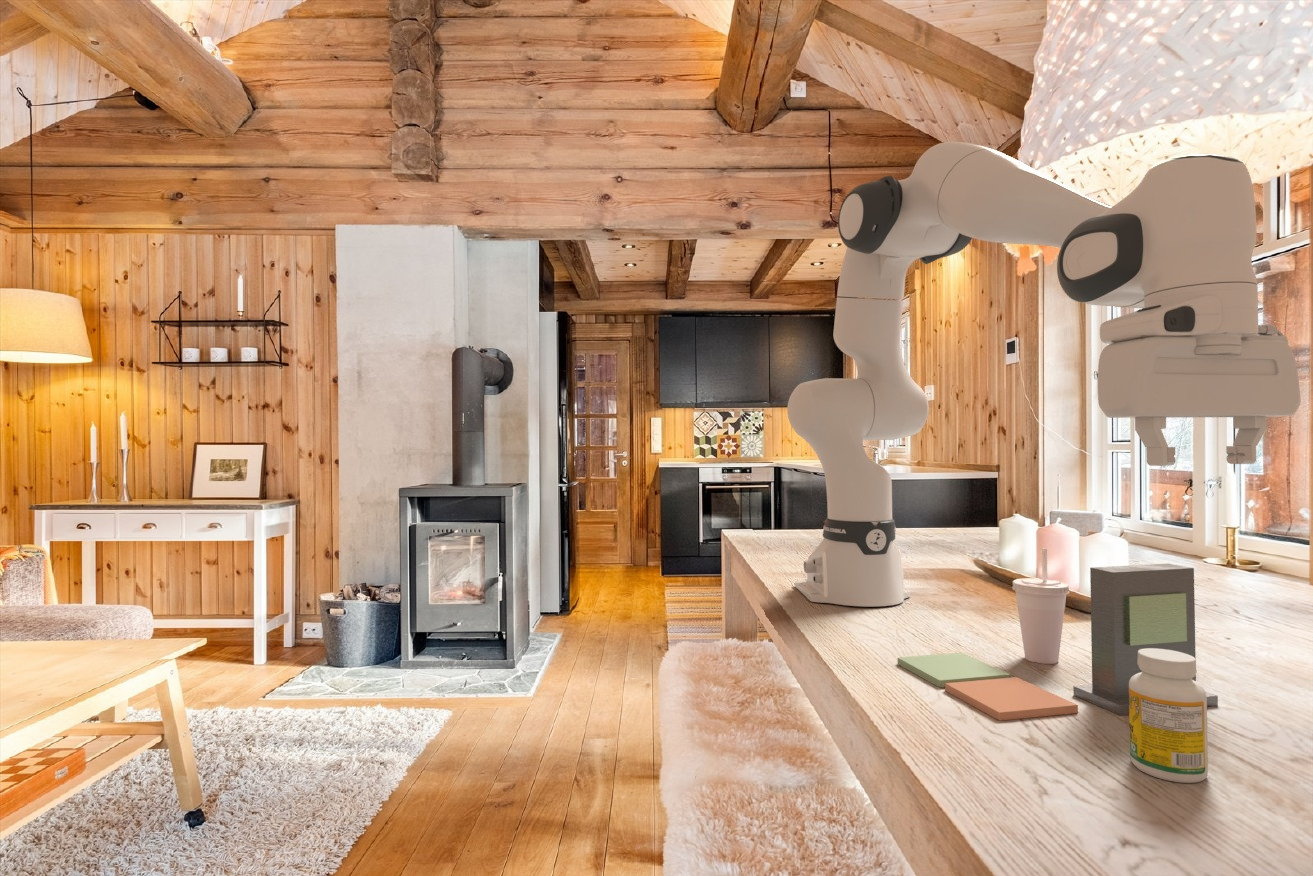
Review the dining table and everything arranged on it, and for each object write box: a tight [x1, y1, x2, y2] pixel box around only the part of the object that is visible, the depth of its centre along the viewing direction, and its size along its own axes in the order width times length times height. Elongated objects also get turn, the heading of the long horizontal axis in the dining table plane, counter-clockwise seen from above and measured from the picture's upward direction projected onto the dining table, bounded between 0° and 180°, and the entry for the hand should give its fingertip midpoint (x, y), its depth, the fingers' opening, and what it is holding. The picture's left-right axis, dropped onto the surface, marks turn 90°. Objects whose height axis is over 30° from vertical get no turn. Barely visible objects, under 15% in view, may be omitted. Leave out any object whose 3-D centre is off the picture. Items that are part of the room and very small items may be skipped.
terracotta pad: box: [944, 676, 1079, 721], centre depth 76 cm, size 9×9×1 cm
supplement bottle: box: [1128, 648, 1209, 784], centre depth 60 cm, size 5×5×10 cm
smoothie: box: [1011, 547, 1070, 665], centre depth 91 cm, size 6×6×14 cm
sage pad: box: [897, 652, 1011, 688], centre depth 86 cm, size 9×9×1 cm
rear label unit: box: [1073, 563, 1219, 716], centre depth 76 cm, size 6×12×14 cm, turn 102°
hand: (1201, 464), depth 70 cm, fingers open, 8 cm apart
